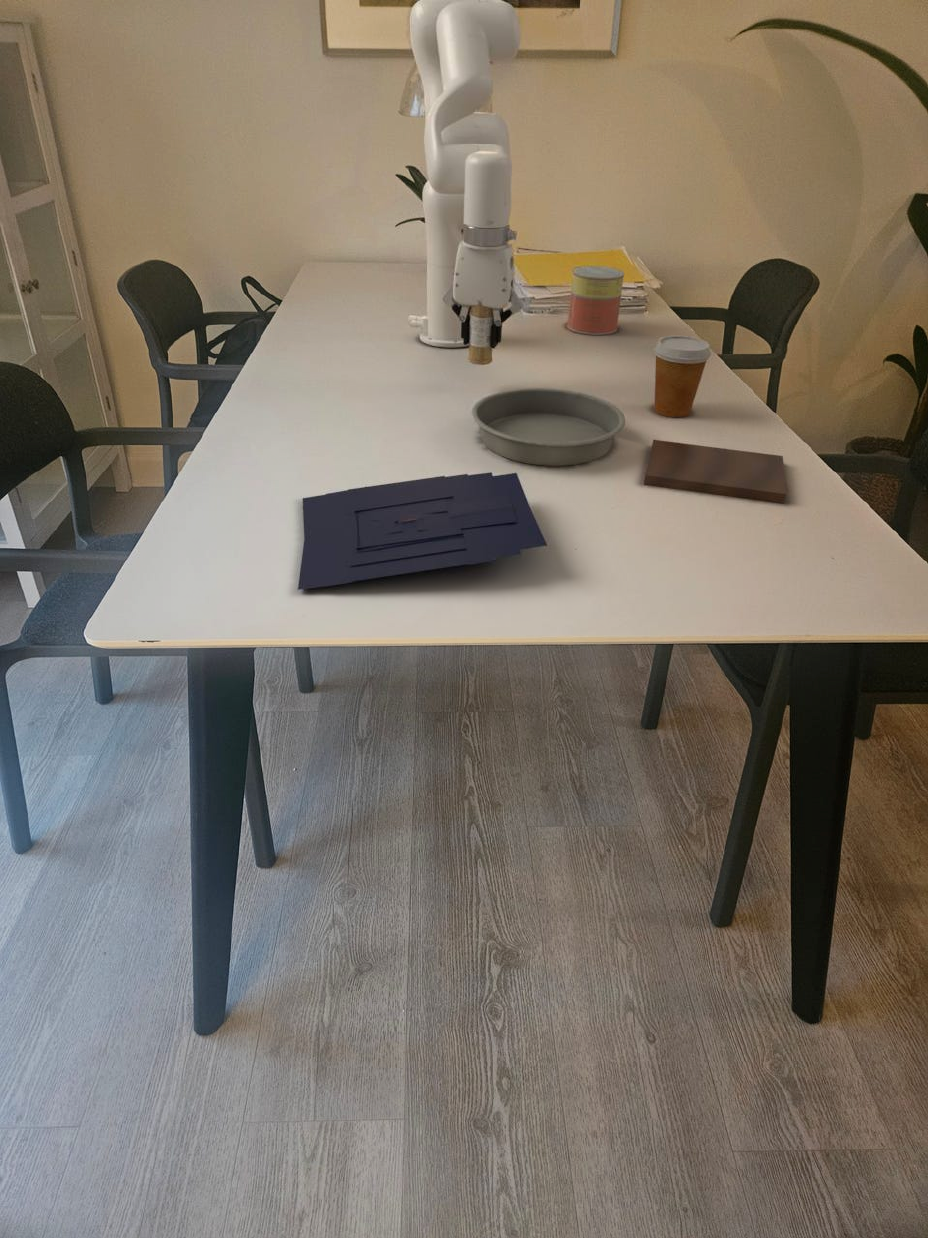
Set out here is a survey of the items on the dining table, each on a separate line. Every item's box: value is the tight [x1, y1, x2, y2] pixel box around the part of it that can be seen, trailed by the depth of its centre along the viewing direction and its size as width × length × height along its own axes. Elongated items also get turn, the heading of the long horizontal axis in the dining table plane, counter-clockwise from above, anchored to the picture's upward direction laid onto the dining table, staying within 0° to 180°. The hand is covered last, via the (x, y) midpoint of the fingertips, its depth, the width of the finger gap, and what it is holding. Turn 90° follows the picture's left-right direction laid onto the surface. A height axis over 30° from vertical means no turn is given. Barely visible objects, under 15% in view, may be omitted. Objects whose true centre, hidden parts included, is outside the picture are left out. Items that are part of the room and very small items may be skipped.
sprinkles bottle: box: [467, 296, 494, 366], centre depth 152 cm, size 5×5×13 cm
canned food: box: [566, 265, 625, 336], centre depth 190 cm, size 11×11×12 cm
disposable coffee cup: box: [653, 335, 712, 418], centre depth 149 cm, size 10×10×12 cm
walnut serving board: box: [643, 439, 787, 504], centre depth 130 cm, size 20×14×2 cm
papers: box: [297, 471, 548, 591], centre depth 111 cm, size 24×30×4 cm
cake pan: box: [471, 387, 626, 467], centre depth 139 cm, size 25×25×4 cm
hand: (480, 343), depth 154 cm, fingers closed on sprinkles bottle, 4 cm apart
